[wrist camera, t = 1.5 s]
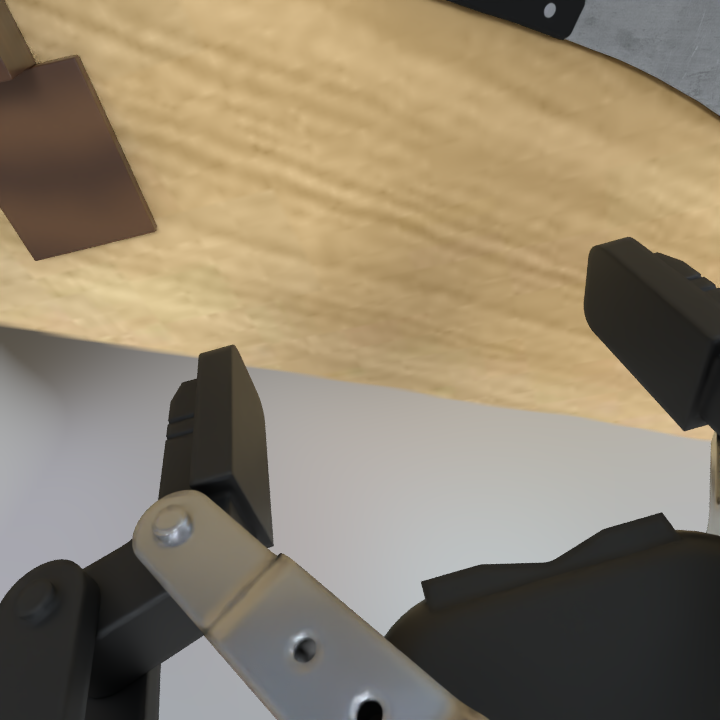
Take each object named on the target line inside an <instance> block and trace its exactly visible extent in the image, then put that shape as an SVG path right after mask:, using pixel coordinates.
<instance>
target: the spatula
mask: <svg viewBox="0 0 720 720" xmlns="http://www.w3.org/2000/svg"><path fill="white" fill-rule="evenodd" d="M0 208H1V209H2V211H3V212H4V214H5V215H6V217H7V218H8V220H9V221H10V223H11V225H12V226H13V228H14V229H15V231H16V232H17V234H18V235H19V237H20V238H21V240H22V241H23V243H24V244H25V246H26V248H27V249H28V251H29V252H30V254H31V255H32V257H33V258H34V260H35V261H38V260H42V259H46V258H50V257H54V256H58V255H62V254H66V253H70V252H74V251H78V250H83V249H87V248H91V247H95V246H99V245H103V244H107V243H111V242H115V241H119V240H123V239H127V238H132V237H136V236H140V235H144V234H148V233H152V232H155V231H156V227H157V225H156V223H155V221H154V219H153V217H152V215H151V212H150V210H149V208H148V206H147V204H146V201H145V199H144V197H143V195H142V193H141V191H140V188H139V186H138V184H137V182H136V180H135V177H134V175H133V173H132V171H131V169H130V167H129V164H128V162H127V160H126V158H125V156H124V153H123V151H122V149H121V147H120V145H119V143H118V140H117V138H116V136H115V134H114V132H113V129H112V127H111V125H110V123H109V121H108V119H107V116H106V114H105V112H104V110H103V108H102V105H101V103H100V101H99V99H98V97H97V95H96V92H95V90H94V88H93V86H92V84H91V81H90V79H89V77H88V75H87V73H86V71H85V68H84V66H83V64H82V62H81V60H80V58H79V56H78V55H73V56H69V57H64V58H60V59H56V60H51V61H47V62H43V63H38V64H36V62H35V60H34V58H33V56H32V54H31V52H30V50H29V48H28V46H27V44H26V42H25V40H24V38H23V36H22V34H21V32H20V31H19V29H18V27H17V25H16V23H15V21H14V19H13V17H12V15H11V13H10V11H9V9H8V7H7V5H6V3H5V1H4V0H0Z"/></svg>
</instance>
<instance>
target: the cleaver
mask: <svg viewBox="0 0 720 720" xmlns="http://www.w3.org/2000/svg"><path fill="white" fill-rule="evenodd" d="M447 1H450V2H453V3H456V4H459V5H462V6H464V7H467V8H470V9H473V10H476V11H478V12H481V13H485V14H488V15H492V16H495V17H498V18H501V19H504V20H507V21H511V22H514V23H517V24H520V25H522V26H525V27H528V28H530V29H533V30H536V31H538V32H541V33H543V34H546V35H549V36H551V37H554V38H557V39H561V40H564V39H566V40H569V41H571V42H574V43H577V44H579V45H582V46H584V47H587V48H590V49H592V50H595V51H598V52H600V53H603V54H606V55H608V56H611V57H614V58H616V59H619V60H621V61H623V62H625V63H627V64H630V65H632V66H634V67H636V68H638V69H640V70H642V71H644V72H646V73H648V74H650V75H652V76H654V77H656V78H658V79H660V80H661V81H663V82H665V83H667V84H668V85H670V86H672V87H674V88H675V89H677V90H679V91H681V92H682V93H684V94H686V95H688V96H689V97H691V98H693V99H695V100H696V101H698V102H700V103H701V104H703V105H704V106H706V107H707V108H708V109H710V110H711V111H713V112H714V113H716V114H717V115H719V116H720V0H447Z"/></svg>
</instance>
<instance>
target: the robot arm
mask: <svg viewBox="0 0 720 720" xmlns="http://www.w3.org/2000/svg"><path fill="white" fill-rule="evenodd" d="M584 313H585V317H586V320H587V323H588V325H589V327H590V328H591V330H592V331H593V332H594V333H595V334H596V335H597V336H598V337H599V339H600V340H601V341H602V342H603V343H604V344H605V345H606V346H607V347H608V348H609V350H610V351H611V352H612V353H613V354H614V355H615V356H616V357H617V358H618V359H619V360H620V362H621V363H622V364H623V365H624V366H625V367H626V368H627V369H628V370H629V371H630V373H631V374H632V375H633V376H634V377H635V378H636V379H637V380H638V381H639V382H640V384H641V385H642V386H643V387H644V388H645V389H646V390H647V391H648V392H649V393H650V394H651V396H652V397H653V398H654V399H655V400H656V401H657V402H658V403H659V404H660V405H661V407H662V408H663V409H664V410H665V411H666V412H667V413H668V414H669V415H670V416H671V417H672V419H673V420H674V421H675V422H676V423H677V424H678V425H679V426H680V427H681V428H682V430H683V431H687V430H690V429H694V428H698V427H701V426H705V425H709V426H710V427H711V428H712V429H713V430H714V431H715V432H714V435H713V438H712V441H711V465H710V502H709V521H708V527H707V532H706V533H703V532H698V531H685V530H675V529H674V528H673V527H672V525H671V524H670V523H669V521H668V520H667V519H666V517H665V516H664V514H663V513H658V514H655V515H651V516H648V517H644V518H641V519H637V520H634V521H630V522H627V523H623V524H620V525H616V526H613V527H609V528H606V529H603V530H601V531H600V532H598V533H596V534H595V535H593V536H592V537H590V538H589V539H587V540H585V541H584V542H582V543H581V544H579V545H577V546H576V547H574V548H572V549H571V550H569V551H568V552H566V553H564V554H563V555H561V556H560V557H558V558H556V559H555V560H553V561H550V562H546V563H516V564H482V565H478V566H474V567H470V568H467V569H463V570H460V571H457V572H453V573H450V574H446V575H442V576H439V577H435V578H432V579H429V580H425V581H422V582H421V584H422V588H423V592H424V596H425V600H423V601H421V602H420V603H418V604H417V605H415V606H414V607H412V608H411V609H410V610H409V611H408V612H407V613H405V614H404V615H403V616H401V618H400V619H399V620H398V621H397V622H396V623H395V624H394V625H393V626H392V627H391V629H390V630H389V631H388V632H387V634H386V635H385V637H383V636H382V635H381V634H380V633H379V632H377V631H376V630H375V629H374V628H373V627H372V626H370V625H369V624H368V623H367V622H366V621H364V620H363V619H362V618H361V617H360V616H358V615H357V614H356V613H355V612H354V611H353V610H351V609H350V608H349V607H348V606H347V605H346V604H344V603H343V602H342V601H341V600H339V599H338V598H337V597H336V596H335V595H334V594H333V593H331V592H330V591H329V590H328V589H327V588H325V587H324V586H323V585H322V584H321V583H320V582H318V581H317V580H316V579H315V578H313V577H312V576H311V575H310V574H309V573H308V572H307V571H305V570H304V569H303V568H302V567H301V566H299V565H298V564H297V563H295V562H294V561H293V560H292V559H291V558H289V557H288V556H286V555H284V554H282V553H280V554H279V555H278V556H277V555H275V554H274V553H272V552H271V551H270V550H269V549H268V548H269V547H272V546H274V544H273V530H272V517H271V504H270V503H271V502H270V488H269V474H268V460H267V446H266V432H265V420H264V413H263V409H262V405H261V401H260V398H259V396H258V393H257V391H256V389H255V387H254V384H253V382H252V380H251V378H250V376H249V373H248V371H247V369H246V367H245V365H244V362H243V360H242V358H241V356H240V353H239V351H238V349H237V348H236V346H235V345H230V346H226V347H222V348H219V349H215V350H212V351H208V352H204V353H201V354H200V355H199V360H198V373H197V379H194V380H190V381H187V382H183V383H182V384H181V386H180V387H179V389H178V391H177V392H176V394H175V395H174V397H173V399H172V400H171V404H170V411H169V419H168V421H169V424H168V427H167V435H166V437H167V440H166V442H165V450H164V458H163V466H162V475H161V482H160V490H159V498H158V501H157V502H155V503H154V504H153V505H152V506H151V507H150V508H149V509H147V510H146V512H145V513H144V514H143V515H142V517H141V518H140V520H139V521H138V523H137V525H136V527H135V530H134V533H133V538H132V539H131V540H130V541H129V542H128V543H126V544H125V545H123V546H122V547H120V548H118V549H117V550H115V551H113V552H111V553H110V554H108V555H107V556H104V557H103V558H101V559H99V560H98V561H96V562H94V563H92V564H91V565H89V566H87V567H86V568H84V569H82V568H81V567H80V566H79V565H77V564H76V563H74V562H73V561H70V560H63V559H61V560H54V561H50V562H47V563H44V564H42V565H40V566H38V567H36V568H34V569H33V570H31V571H30V572H28V573H27V574H25V575H24V576H23V577H22V578H21V579H19V580H18V581H17V582H16V583H15V584H14V586H13V587H12V588H11V589H10V590H9V591H8V593H7V594H6V595H5V597H4V598H3V600H2V601H1V603H0V720H158V719H159V694H160V669H161V663H162V662H164V661H165V660H167V659H168V658H170V657H171V656H173V655H174V654H176V653H178V652H179V651H181V650H182V649H184V648H185V647H187V646H188V645H189V644H191V643H193V642H194V641H196V640H197V639H199V638H200V637H202V636H203V635H204V636H205V637H206V638H207V640H208V641H209V642H210V643H211V644H212V645H213V646H214V648H215V649H216V650H217V651H218V652H219V654H220V655H221V656H222V657H223V658H224V659H225V660H226V662H227V663H228V664H229V665H230V666H231V667H232V669H233V670H234V671H235V672H236V673H237V674H238V675H239V677H240V678H241V679H242V680H243V681H244V682H245V684H246V685H247V686H248V687H249V688H250V689H251V690H252V692H253V693H254V694H255V695H256V696H257V697H258V699H259V700H260V701H261V702H262V703H263V704H264V705H265V706H266V707H267V709H268V710H269V711H270V712H271V713H272V715H273V716H274V717H275V718H276V719H277V720H720V288H716V286H715V284H714V283H712V282H711V281H709V280H708V279H707V278H705V277H701V274H700V273H698V272H697V271H696V270H694V269H693V268H691V267H690V266H689V265H687V264H686V263H685V262H683V261H681V260H678V259H675V258H672V257H670V256H667V255H664V254H661V253H658V252H657V253H652V252H651V251H650V250H648V249H647V248H646V247H644V246H643V245H642V244H640V243H639V242H638V241H636V240H635V239H633V238H631V237H626V238H622V239H618V240H615V241H611V242H608V243H604V244H600V245H597V246H594V247H592V249H591V250H590V253H589V257H588V267H587V276H586V286H585V296H584Z"/></svg>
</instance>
